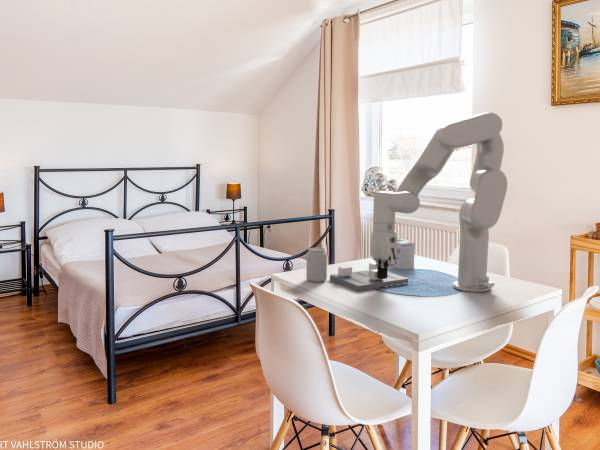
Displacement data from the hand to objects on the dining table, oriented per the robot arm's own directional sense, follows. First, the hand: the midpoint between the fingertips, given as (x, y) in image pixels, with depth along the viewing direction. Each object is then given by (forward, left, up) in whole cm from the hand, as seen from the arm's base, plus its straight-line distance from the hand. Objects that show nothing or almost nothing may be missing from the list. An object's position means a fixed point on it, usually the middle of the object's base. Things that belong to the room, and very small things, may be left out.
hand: (382, 278), depth 184 cm
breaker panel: (+8, 0, -3) cm, 9 cm away
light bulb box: (+23, -28, -4) cm, 37 cm away
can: (+19, +16, -3) cm, 25 cm away
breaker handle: (+3, 0, -1) cm, 4 cm away
